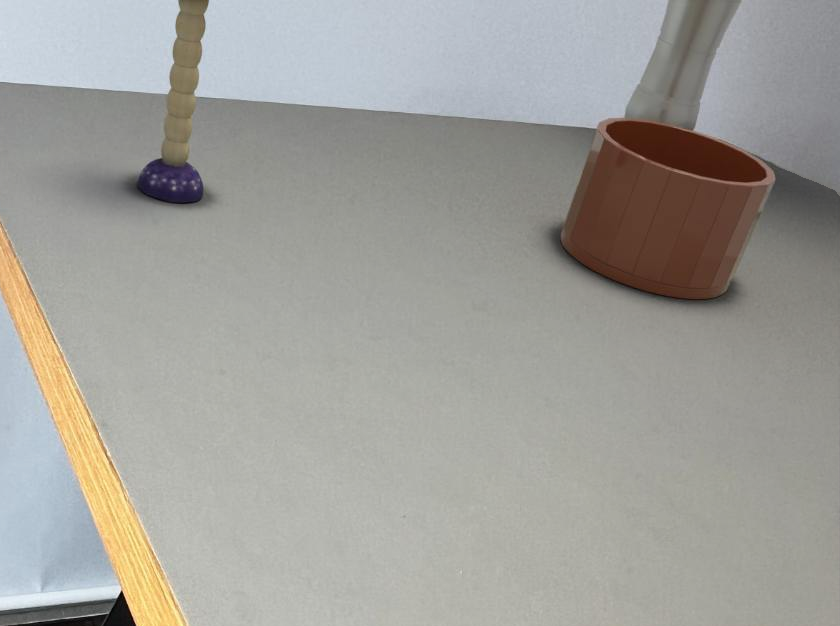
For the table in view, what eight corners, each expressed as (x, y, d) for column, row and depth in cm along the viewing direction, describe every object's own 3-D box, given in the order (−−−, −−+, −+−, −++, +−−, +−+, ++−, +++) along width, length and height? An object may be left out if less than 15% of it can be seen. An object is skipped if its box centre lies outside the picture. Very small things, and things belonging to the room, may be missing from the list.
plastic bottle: (678, 142, 118) (765, -87, 106) (689, 163, 112) (783, -76, 101) (612, 126, 117) (693, -105, 106) (620, 147, 112) (706, -95, 101)
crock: (696, 241, 94) (738, 137, 89) (752, 311, 84) (803, 198, 80) (543, 213, 92) (579, 105, 88) (583, 281, 82) (625, 164, 78)
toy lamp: (177, 210, 78) (221, -78, 68) (114, 186, 79) (149, -101, 69) (214, 193, 81) (260, -83, 72) (153, 170, 83) (191, -104, 73)
